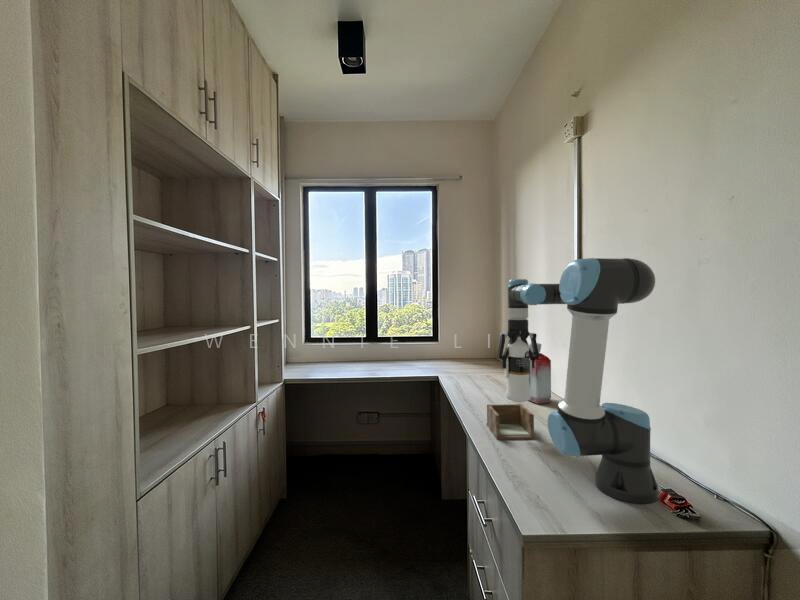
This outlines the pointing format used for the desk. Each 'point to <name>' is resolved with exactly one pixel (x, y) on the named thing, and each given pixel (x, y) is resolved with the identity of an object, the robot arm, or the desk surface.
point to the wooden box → (510, 422)
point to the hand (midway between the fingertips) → (518, 376)
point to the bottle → (540, 379)
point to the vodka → (518, 371)
